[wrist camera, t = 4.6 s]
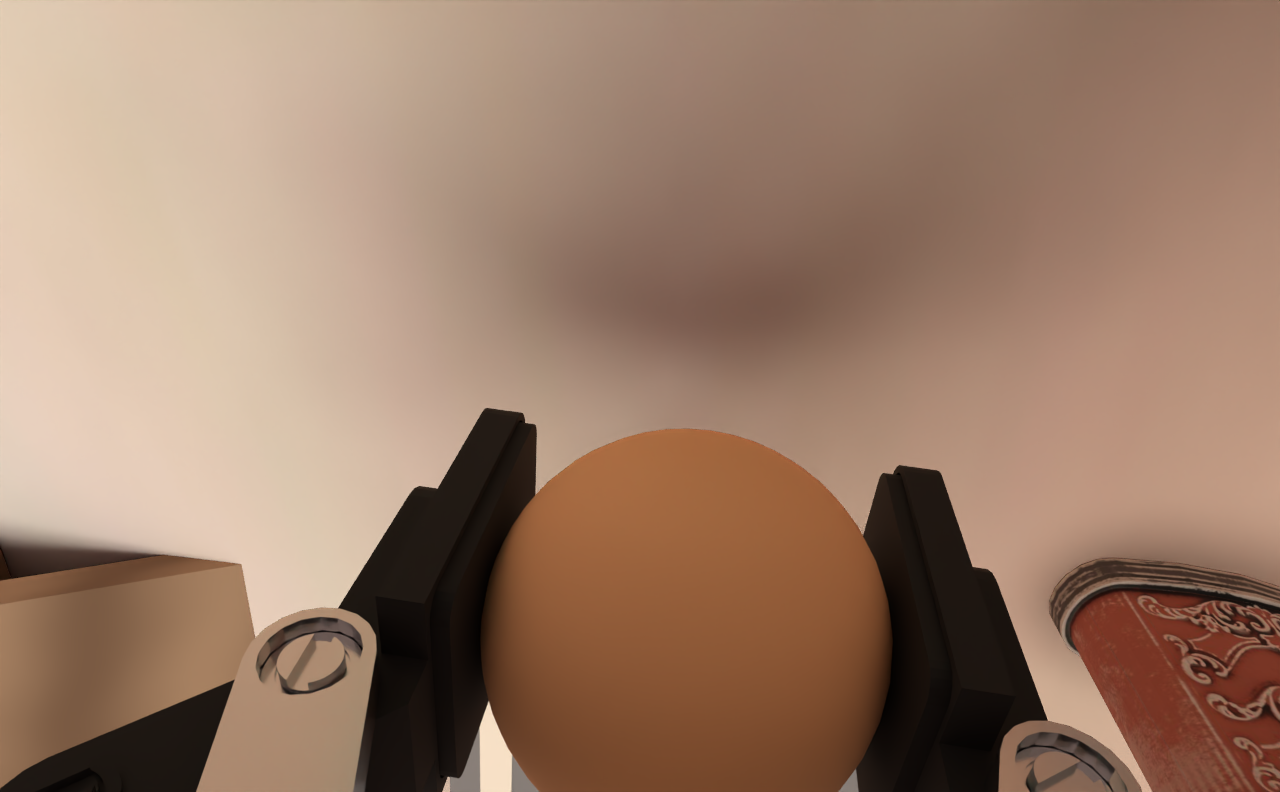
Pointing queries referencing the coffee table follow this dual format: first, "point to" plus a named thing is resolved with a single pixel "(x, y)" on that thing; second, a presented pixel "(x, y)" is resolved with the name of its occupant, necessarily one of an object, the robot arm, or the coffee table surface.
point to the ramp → (111, 648)
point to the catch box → (514, 765)
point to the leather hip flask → (1182, 668)
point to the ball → (686, 624)
